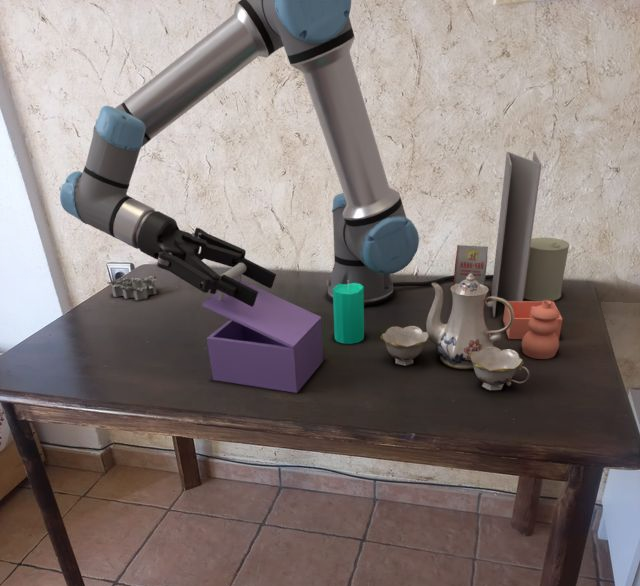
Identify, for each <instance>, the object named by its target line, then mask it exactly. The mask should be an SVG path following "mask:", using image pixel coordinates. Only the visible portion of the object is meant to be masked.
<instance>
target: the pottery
mask: <svg viewBox="0 0 640 586" xmlns="http://www.w3.org/2000/svg"><path fill="white" fill-rule="evenodd" d="M507 302H509V304H510V305H511V306H512V308H513V311H514V321H513V323H512V325H511V326H510V328H509V329H507V330H506V331H505V332H506V335H507V338H508V340H521V349H522V353H523V354H524V356H527V357H529V358H532V359H536V360H549V359H551V358H554V357H555V356H556V354H557V352H558V350H559V347H560V335H561V330H562V326H563V317H562V315H561V313H560V311H559V309H558V307H557V305H556V302H555V300H554V301H531V300H523V301H507ZM502 321H503V325H504V327H506V326H507V325H508V323H509V321H510V311H509V309H508V308H507V306H506V305H504V311H503V319H502Z"/></svg>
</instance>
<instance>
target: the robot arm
mask: <svg viewBox="0 0 640 586" xmlns="http://www.w3.org/2000/svg"><path fill="white" fill-rule="evenodd" d="M351 9H352V0H239V1H238V2H236V3H235V6H234V13H233V14H232V15H231V16H230V17H228V18H227V19H225V20H224V21H223V22H222V23H221V24H220V25H218V26H217V27H216V28H215V29H213V30H212V31H211V32H210V33H208V34H207V35H205V36H204V37H203V38H202V39H201V40H199V41H198V42H197V43H195V44H194V45H193V46H192V47H191V48H189V49H188V50H187V51H185V52H184V53H183V54H181V55H180V56H179V57H178V58H176V59H175V60H174V61H173V62H172V63H170V64H169V65H167V66H166V67H165V68H164V69H163V70H161V71H160V72H158V73H157V74H156V75H155V76H154V77H152V78H151V79H150V80H149V81H147V82H146V83H145V84H144V85H142V86H141V87H140V88H139V89H138V90H137V89H136V91H135V92H133V93H132V94H131V95H130V96H128V97H127V98H126V99H125V100H124V101H122V103H120V104H118V105H117V106H116V107H113V106H110V105H104V106H102V107H101V108H100V111H99V114H98V117H97V119H96V120H95V124H94V126H93V131H92V138H91V142H90V147H89V150H88V154H87V158H86V162H85V165H84V167H83V170H82V171H78V170H77V171H72V172H71V173H70V174H68V175H67V177H66V178H65V182H64V183H62V184H61V188H60V192H59V201H60V205H61V207H62V209H63V210H64V211H65V212H66V213H67V214H69V215H71V216H73V217H74V218H76V219H78V220H80V222H82V223H83V224H85V225H88V226H90V227H93V228H94V229H97V230H98V231H100V232H103V233H104V234H107V235H109V236H111V237H113V238H115V239H116V240H118V241H121V242H123V243H125V244H126V245H128V246H130V247H132V248H134V249H136V250H139V251H140V253H141V252H142V253H143V254H145V255H146V256H149V257H150V258H152V259H154V260H157V264H156V267H158V268H159V269H162V270H165V271H167V272H170V273H171V274H173V275H175V276H176V277H178V278H179V279H181V280H183V281H185V282H186V283H188V284H189V285H191V286H192V287H194V288H196V289H197V290H199V291H201V292H202V293H205V294H208V293H209V294H211V295H215V294H216V293H217V292H219V291H221V292H223V293H225V294H227V295H229V296H232V297H234V298H236V299H238V300H240V301H242V302H243V303H245V304H247V305H249V306H251V307H253V306H254V304H255V301H256V297H257V294H258V291H256V290H254V289H252V288H250V287H248V286H246V285H244V284H242V283H240V282H238V281H236V279H232V278H230V277H228V276H226V275H224V273H222V274H223V275H222V274H221V275H222V277H221V279H220V276H221V275H219V273H217V272H216V271H215V270H213V269H212V268H211V267H210V266H209V265H208V264H207V263H205V262H204V261H203V260H207V261H210V262H214V263H217V264H220V265H224V266H227V267H230V268H233V267H234V266H236V265H237V264H239V263H244V264H245V265H246V268H247V269H246V271H245V272H244V273H243V274H242V276H245V277H246V278H249V279H251V280H253V281H254V282H257V283H258V284H260V285H262V286H264V287H266V288H268V289H272V288H273V286H274V283H275V279H276V278H277V277H276V276H277V273H275V272H273V271H271V270H269V269H267V268H265V267H263V266H261V265H259V264H257V263H255V262H253V261H251V260H250V259H247V258H246V254H247V251H246V250H245V249H244V248H243V247H240V246H238V245H235V244H233V243H231V242H228V241H225V240H223V239H221V238H219V237H217V236H214V235H212V234H210V233H208V232H206V231H205V230H203V229H202V228H201V227H196V228H195V229H194V232H192V233H191V232H188V231H184V230H181V229H180V228H179V226H178V223H177V221H176V219H174V218H173V217H171V216H169V215H167V214H165V213H164V212H161V211H158V210H156V209H155V208H153V207H152V206H150V205H147V204H145V203H143V202H142V201H139V200H137V199H135V198H133V197H132V196H129V194H128V190H129V187H130V183H131V180H132V177H133V175H134V171H135V167H136V165H137V162H138V158H139V155H140V152H141V148H143V147H144V146H145V145H146V144H147V143H149V142H150V141H151V140H152V139H153V138H155V137H156V136H158V135H159V134H160V133H161V132H163V131H164V130H165V129H167V128H168V127H169V126H170V125H171V124H173V123H174V122H176V121H177V120H178V119H180V117H182V116H184V115H185V114H186V113H187V112H188V111H190V110H191V109H192V108H194V107H195V106H196V105H198V104H199V103H200V102H201V101H203V100H204V99H205V98H207V97H208V96H209V95H210V94H212V93H213V92H214V91H216V90H217V89H219V87H221V86H222V85H223V84H225V83H226V82H227V81H229V80H230V79H231V78H232V77H234V76H235V75H236V74H238V73H239V72H240V71H242V70H243V69H244V68H246V67H247V66H248V65H249V64H251V63H252V62H253V61H254V60H256V59H257V58H259V57H262V58H269V57H270V56H271V55H272V54H274V53H275V52H276V51H278V50H279V49H282V48H283V47H284V51H285V54H286V56H287V60H288V62H289V66H291V67H292V68H293V69H297V70H298V71H300V72H301V74H302V75H303V78H304V81H305V84H306V87H307V90H308V93H309V97H310V99H311V102H312V105H313V108H314V111H315V114H316V116H317V119H318V123H319V125H320V129H321V131H322V134H323V137H324V140H325V143H326V145H327V149H328V152H329V155H330V157H331V160H332V164H333V166H334V170H335V173H336V175H337V178H338V181H339V185H340V187H341V190H342V193H337V194H336V195H335V196H334V197H333V199H332V209H331V213H332V225H333V226H332V227H333V228H332V229H333V230H332V231H333V250H334V251H333V252H334V253H333V255H334V264H333V267H332V271H331V274H330V278H329V280H328V279H326V284H327V297H328V299H329V300H330V301H332V302H333V288H334V287H336V286H337V285H338V284H350V283H359V284H361V285H362V286H364V307H370V306H376V305H380V304H383V303H386V302H387V301H389V300H391V299H392V298H393V296H394V288H395V287H396V288H397V287H427V286H432V283H437V284H440V283H444V282H448V281H454V274H453V275H447V276H444V277H440V278H437V279H432V280H428V281H397V282H395V281H394V282H393V280H392V277H391V275H392V274H396V273H398V272H400V271H402V270H403V269H405V268H406V267H408V266H409V264H410V263H411V262H412V261H413V259H414V257H415V255H416V254H417V252H418V248H419V244H420V236H419V232H418V229H417V227H416V226H415V223H413V221H412V220H411V219H409V218H408V217H407V214H406V212H405V208H404V205H403V201H402V198H401V194H400V192H399V190H396V189H394V188H392V187H390V185H389V182H388V178H387V174H386V172H385V168H384V165H383V161H382V158H381V154H380V151H379V148H378V145H377V141H376V138H375V137H376V136H375V134H374V131H373V128H372V124H371V120H370V117H369V114H368V110H367V107H366V103H365V100H364V97H363V93H362V90H361V89H362V88H361V86H360V82H359V80H358V76H357V73H356V69H355V65H354V62H353V58H352V56H351V48H352V47H353V44H354V41H355V39H356V37H355V32H354V30H353V25H352V23H351V18H350V13H351ZM485 280H493V274H486V276H485Z"/></svg>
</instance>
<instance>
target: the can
mask: <svg viewBox="0 0 640 586" xmlns="http://www.w3.org/2000/svg"><path fill="white" fill-rule="evenodd" d="M569 248H570V243H569V241H567V240H564V239H561V238H556V237H534V238H531V245H530V253H529V260H528V267H527V274H526V282H525V289H524V296H523V300H526V301H554V302H555V301H557V300H559V299H560V298H561V297H562V290H563V289H562V288H563V282H564V278H565V277H564V276H565V270H566V264H567V260H568V254H569Z"/></svg>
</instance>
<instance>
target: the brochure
mask: <svg viewBox="0 0 640 586" xmlns="http://www.w3.org/2000/svg"><path fill="white" fill-rule="evenodd" d="M542 165H543V164H542V163H541V160H540V158H539V156H538V154H537V152H536V151H535V150H533V152H532V159H529V158H526V157H523V156H521V155H518V154H516V153H513V152H510V151H506V154H505V165H504V171H503V183H502V191H501V200H500V208H499V209H500V210H499V220H498V227H497V228H498V229H497V238H496V248H495V254H494V256H495V257H494V265H493V274H492V275H493V279H492V282H491V283H492V284H491V291H490V292H491V296H494V297H499V298H502V299H505V300H506V301H524V298H523V296H524V289H525V282H526V274H527V267H528V260H529V253H530V245H531V239H533V238H532V237H533V232H534V231H533V230H534V224H535V223H534V222H535V215H536V208H537V201H538V194H539V186H540V180H541V173H542ZM491 301H493V306H492V317H493V318H496V308H497V301H496V300H493V299H491ZM503 305H504V306H505V304H503Z"/></svg>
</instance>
